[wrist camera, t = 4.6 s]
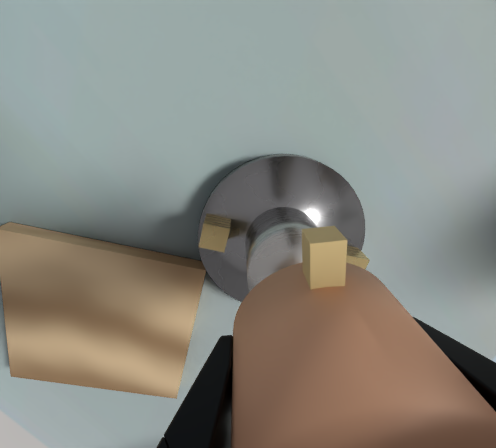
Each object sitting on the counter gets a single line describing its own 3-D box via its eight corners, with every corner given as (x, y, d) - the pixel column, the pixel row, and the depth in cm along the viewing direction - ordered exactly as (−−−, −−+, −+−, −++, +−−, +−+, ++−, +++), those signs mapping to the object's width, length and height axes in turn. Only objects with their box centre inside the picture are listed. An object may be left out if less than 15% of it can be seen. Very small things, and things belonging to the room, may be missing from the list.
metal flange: (324, 310, 19) (352, 372, 14) (187, 284, 18) (169, 343, 13) (384, 177, 15) (448, 203, 11) (218, 133, 14) (209, 140, 9)
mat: (179, 386, 21) (176, 398, 20) (21, 364, 20) (10, 376, 19) (207, 262, 17) (206, 270, 16) (9, 221, 16) (-5, 228, 15)
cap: (245, 414, 11) (252, 661, 6) (216, 231, 8) (179, 432, 3) (382, 400, 11) (502, 635, 6) (410, 211, 8) (720, 378, 3)
